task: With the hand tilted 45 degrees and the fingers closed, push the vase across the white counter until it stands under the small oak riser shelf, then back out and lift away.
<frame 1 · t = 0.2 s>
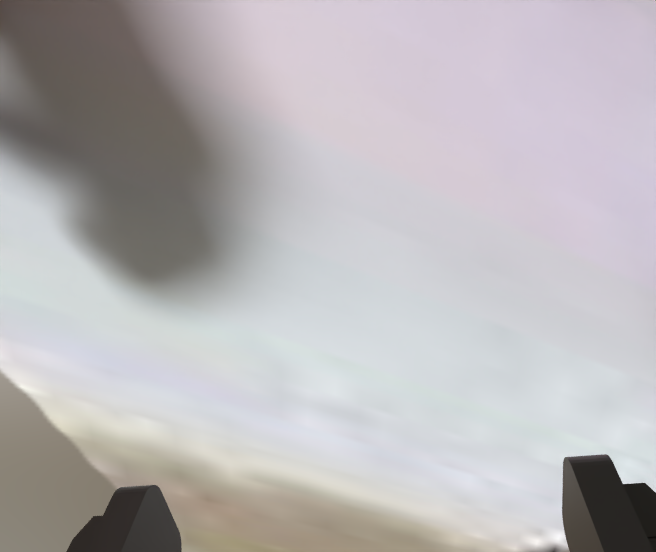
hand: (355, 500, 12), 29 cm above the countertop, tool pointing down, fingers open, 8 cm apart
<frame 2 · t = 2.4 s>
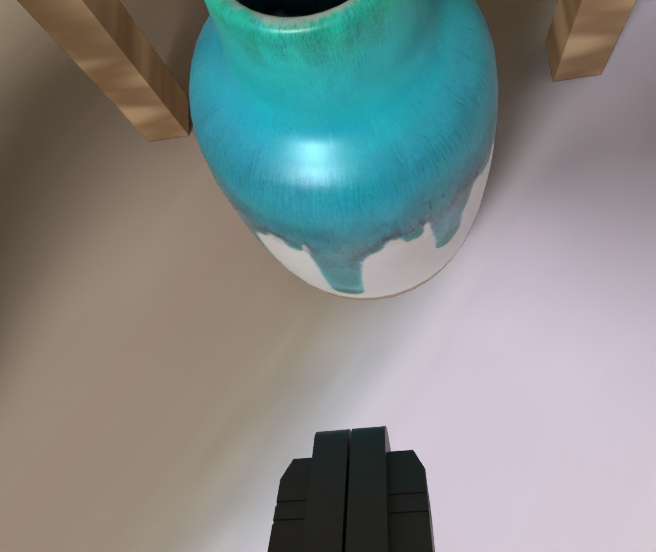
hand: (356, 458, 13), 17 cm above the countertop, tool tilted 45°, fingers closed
riser shelf: (353, 7, 36), on the countertop
vase: (374, 225, 32), on the countertop
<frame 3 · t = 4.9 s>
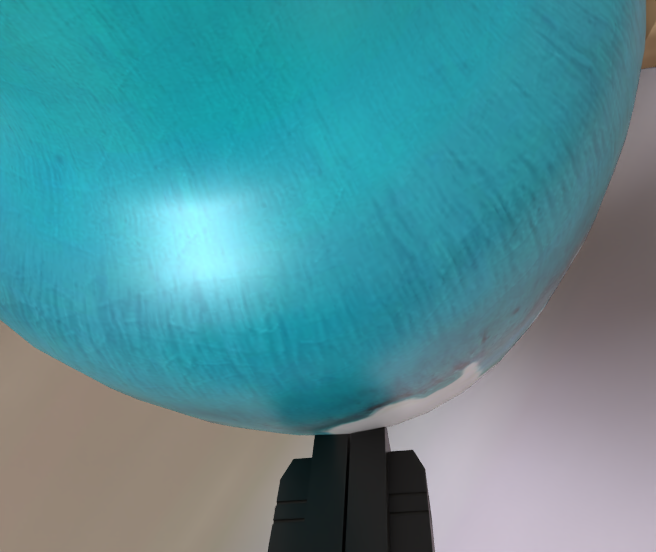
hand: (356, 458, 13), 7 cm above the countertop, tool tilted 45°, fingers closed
vase: (361, 282, 21), on the countertop, touching gripper
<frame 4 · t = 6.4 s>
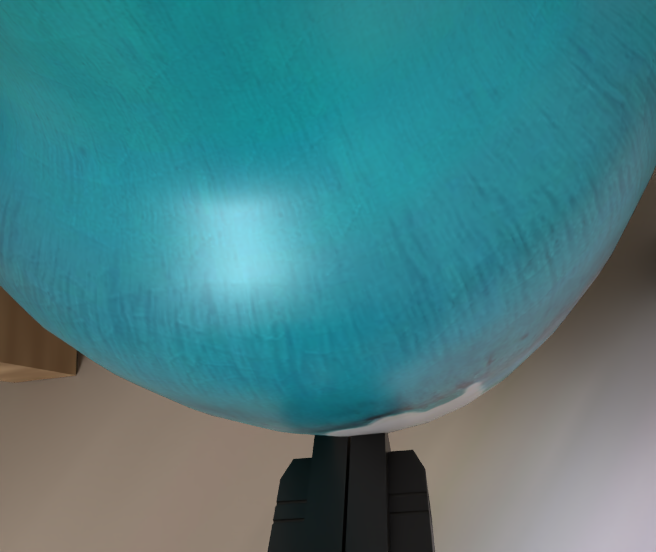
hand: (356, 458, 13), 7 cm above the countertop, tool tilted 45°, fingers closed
riser shelf: (338, 159, 22), on the countertop
vase: (374, 282, 21), on the countertop, touching gripper
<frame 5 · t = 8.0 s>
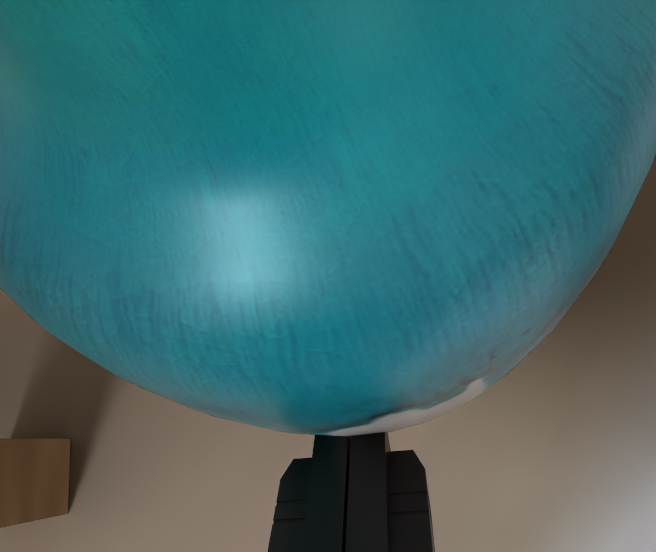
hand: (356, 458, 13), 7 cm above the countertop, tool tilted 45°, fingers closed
riser shelf: (347, 280, 21), on the countertop
vase: (372, 283, 21), on the countertop, touching gripper
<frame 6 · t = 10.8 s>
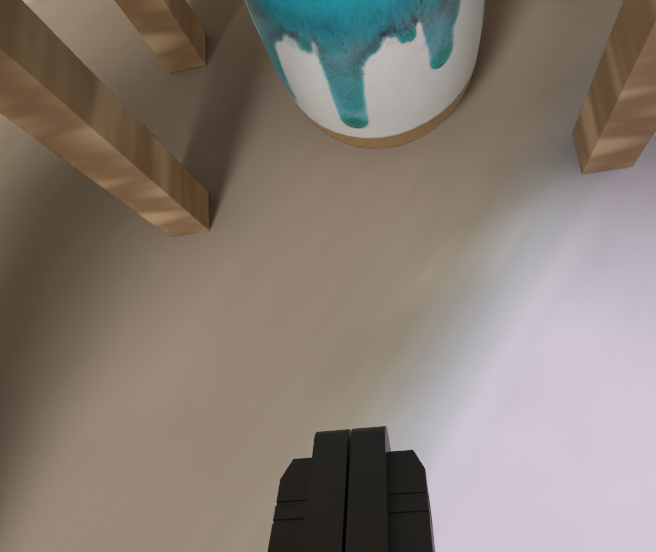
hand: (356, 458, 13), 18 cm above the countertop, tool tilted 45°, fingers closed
riser shelf: (373, 96, 35), on the countertop
vase: (386, 97, 35), on the countertop
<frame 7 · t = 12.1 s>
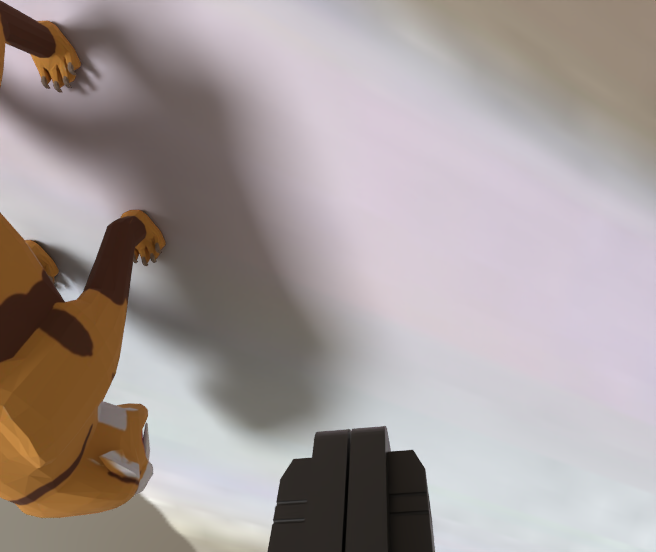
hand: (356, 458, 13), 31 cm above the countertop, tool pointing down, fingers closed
toy: (65, 198, 44), on the countertop
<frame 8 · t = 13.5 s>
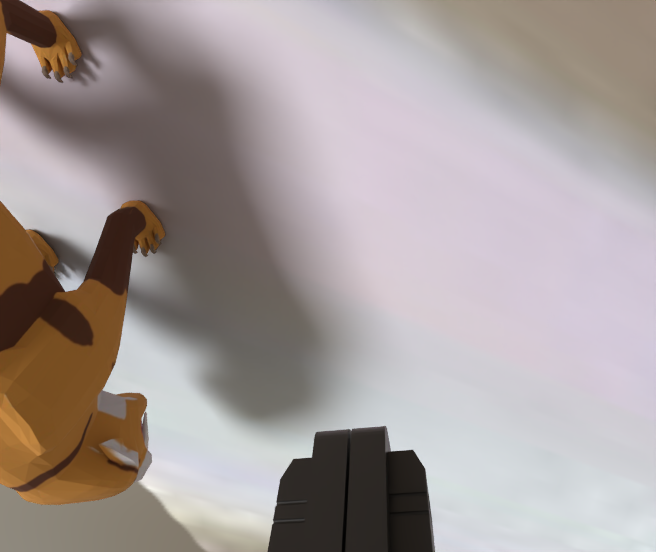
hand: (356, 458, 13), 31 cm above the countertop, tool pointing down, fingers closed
toy: (66, 188, 44), on the countertop
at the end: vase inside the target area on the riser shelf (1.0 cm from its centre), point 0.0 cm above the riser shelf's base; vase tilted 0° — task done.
